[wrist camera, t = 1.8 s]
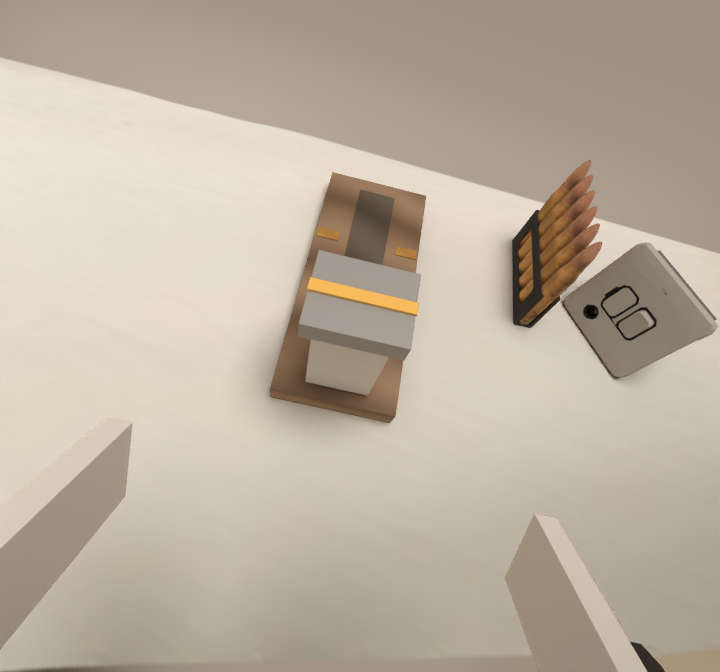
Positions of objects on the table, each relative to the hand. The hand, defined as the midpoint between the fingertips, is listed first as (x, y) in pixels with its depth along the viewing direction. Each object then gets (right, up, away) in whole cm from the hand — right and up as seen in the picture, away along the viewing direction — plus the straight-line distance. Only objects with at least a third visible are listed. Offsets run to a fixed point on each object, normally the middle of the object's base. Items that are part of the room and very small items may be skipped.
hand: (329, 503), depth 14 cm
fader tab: (-1, +3, +21) cm, 21 cm away
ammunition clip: (+18, +11, +31) cm, 37 cm away
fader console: (+1, +10, +27) cm, 29 cm away
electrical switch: (+26, +6, +30) cm, 40 cm away
